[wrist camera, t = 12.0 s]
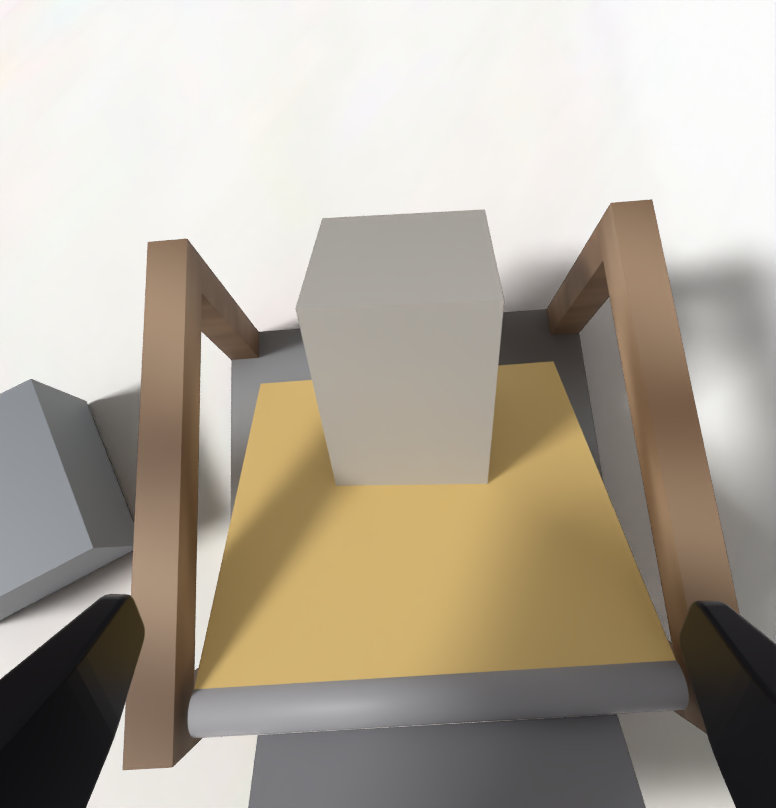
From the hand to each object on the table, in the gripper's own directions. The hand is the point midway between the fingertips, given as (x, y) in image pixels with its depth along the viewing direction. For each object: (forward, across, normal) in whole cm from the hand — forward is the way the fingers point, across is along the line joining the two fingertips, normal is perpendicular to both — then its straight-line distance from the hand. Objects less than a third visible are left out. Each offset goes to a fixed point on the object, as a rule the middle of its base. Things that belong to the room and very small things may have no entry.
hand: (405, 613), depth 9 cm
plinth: (+11, +16, +8) cm, 21 cm away
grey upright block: (+10, 0, +3) cm, 11 cm away
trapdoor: (+6, -1, +9) cm, 10 cm away
